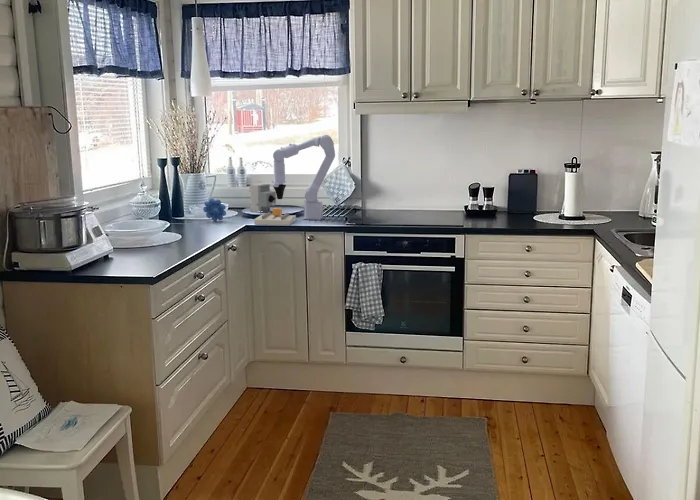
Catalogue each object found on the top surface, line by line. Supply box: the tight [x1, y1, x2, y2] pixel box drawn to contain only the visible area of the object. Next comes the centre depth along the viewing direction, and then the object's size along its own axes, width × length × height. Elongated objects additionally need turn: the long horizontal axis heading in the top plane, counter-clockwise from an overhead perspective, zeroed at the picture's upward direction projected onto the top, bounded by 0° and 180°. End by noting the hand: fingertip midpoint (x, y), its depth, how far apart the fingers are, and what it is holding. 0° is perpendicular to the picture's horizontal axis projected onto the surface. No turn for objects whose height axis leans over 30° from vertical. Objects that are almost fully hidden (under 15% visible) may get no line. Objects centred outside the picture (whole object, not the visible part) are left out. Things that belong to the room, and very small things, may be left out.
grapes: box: [202, 197, 227, 222], centre depth 367 cm, size 12×7×12 cm, turn 109°
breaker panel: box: [254, 211, 297, 226], centre depth 366 cm, size 18×14×4 cm
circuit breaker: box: [249, 182, 277, 212], centre depth 394 cm, size 8×14×15 cm, turn 53°
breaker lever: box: [272, 207, 283, 216], centre depth 369 cm, size 4×3×4 cm
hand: (280, 198), depth 373 cm, fingers closed
